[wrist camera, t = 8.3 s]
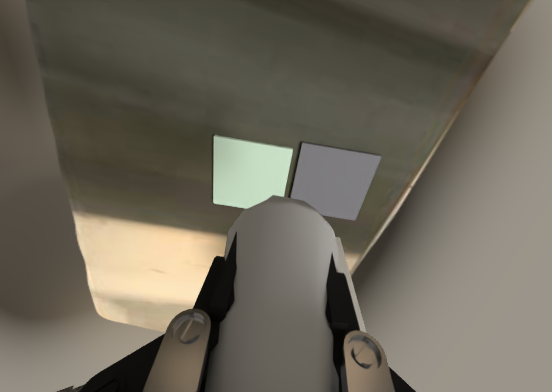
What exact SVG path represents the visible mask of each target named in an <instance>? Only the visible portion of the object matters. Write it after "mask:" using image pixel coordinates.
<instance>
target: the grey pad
mask: <svg viewBox="0 0 552 392" xmlns="http://www.w3.org/2000/svg"><path fill="white" fill-rule="evenodd" d="M381 157H382V156H381V155H378V154H372V153H366V152H360V151H355V150H349V149H343V148H337V147H331V146H325V145H319V144H313V143H307V142H302V145H301V150H300V154H299V159H298V164H297V168H296V173H295V178H294V182H293V187H292V192H291V196H290V198H292V199H298V200H303V201H305V202H306V203H308V204H309V205H311V206H312V207H313V208H315V209H316V210H317V211H318V212H319V213H320V214H321V215H324V216H330V217H336V218H343V219H349V220H356V217H357V215H358V213H359V210H360V208H361V205H362V203H363V200H364V198H365V196H366V193H367V191H368V188H369V186H370V184H371V181H372V179H373V176H374V174H375V171H376V169H377V167H378V164H379V162H380V159H381Z"/></svg>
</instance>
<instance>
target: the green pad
mask: <svg viewBox="0 0 552 392" xmlns="http://www.w3.org/2000/svg"><path fill="white" fill-rule="evenodd" d="M292 152H293V148H290V147H284V146H278V145H272V144H266V143H260V142H254V141H248V140H243V139H237V138H231V137H225V136H219V135H215V136H214V175H213V203H215V204H221V205H227V206H234V207H240V208H246V209H248V208H250V207H252V206H254V205H256V204H259V203H261V202H263V201H265V200H267V199H268V198H269V197H271V196H272V195H276V196H282V197H284V192H285V187H286V182H287V177H288V172H289V167H290V162H291V157H292Z"/></svg>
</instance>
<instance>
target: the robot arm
mask: <svg viewBox="0 0 552 392" xmlns="http://www.w3.org/2000/svg"><path fill="white" fill-rule="evenodd" d="M236 250H237V231H236V233H235V236H234V239H233V242H232V244H231V247H230V250H229V253H228V256H227V258H226V261H225V258H224V257H220V256H216V257H215V258H214V260H213V263H212V265H211V267H210V270H209V272H208V274H207V277H206V279H205V281H204V284H203V286H202V288H201V291H200V293H199V295H198V298H197V300H196V302H195V305H194V307H193V309H188V310H185V311H183V312H181V313H179V314H178V315H176V316H175V317H174V319H173V320H172V321H171V322H170V324H169V326H168V328H167V330H166V333H165V334H163V335H162V336H160V337H158V338H157V339H155V340H153V341H152V342H150V343H148V344H146V345H145V346H143V347H141V348H140V349H138V350H136V351H135V352H133V353H131V354H130V355H128V356H126V357H125V358H123V359H121V360H120V361H118V362H116V363H114V364H113V365H111V366H110V367H108V368H106V369H104V370H103V371H101V372H99V373H98V374H97V375H95V376H94V377H92V378H91V379H90V380H89V381H88V382H87V383H86V384H85V385H82V386H79V387H77V388H75V387H74V386H71V387H68V388H65V389H62V390H60V391H57V392H205V385H206V378H207V371H208V365H209V358H210V353H211V351H212V350H213V349H214V348H215V346H216V345H217V344H218V339H219V328H220V322H222V321H223V320H224V319H225V318H226V313H227V312H228V311H229V310H230V308H231V306H232V305H233V303H234V300H235V297H234V278H235V274H236V270H237V264H236ZM326 286H327V303H326V310H325V315H326V318H327V321H328V322H329V324H330V329H331V331H332V334H333V337H334V339H333V363H334V366H335V369H336V372H337V374H338V377H339V392H416V391H415V390H413V389H412V388H411V387H410V386H409V385H408V384H407V383H406V382H405V381H404V380H403V379H402V378H401V377H399V376H398V375H397V374H396V373H395V372H394V371H393V370H392V369H391V368H390V367H389V366H388V363H387V358H386V355H385V352H384V350H383V348H382V347H381V345H380V344H379V342H378V341H377V340H376V339H375V338H374V337H372V336H370V335H369V334H368V333H366V332H363V331H360V327H359V323H358V320H357V316H356V312H355V309H354V305H353V301H352V297H351V294H350V290H349V286H348V283H347V279H346V276H345V274H344V273H340V272H337V271H336V266H335V262H334V258H333V253H332V254H331V260H330V265H329V271H328V277H327V283H326Z"/></svg>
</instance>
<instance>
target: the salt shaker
mask: <svg viewBox="0 0 552 392" xmlns="http://www.w3.org/2000/svg"><path fill="white" fill-rule="evenodd" d="M236 231H237V250H236V264H237V270H236V274H235V278H234V297H235V300H234V303H233V305H232V306H231V308H230V310H229V311H228V312H227V313H226V318H225V319H224V320H223V321H222V322H220V328H219V339H218V344H217V345H216V346H215V348H214V349H213V350H212V351H211V353H210V358H209V365H208V371H207V378H206V385H205V392H339V377H338V374H337V372H336V369H335V366H334V363H333V339H334V337H333V334H332V331H331V329H330V324H329V322H328V321H327V318H326V315H325V310H326V303H327V286H326V283H327V277H328V271H329V265H330V260H331V254H332V253H333V258H334V262H335V266H336V271H337V272H338V248H337V243H336V239H335V234H334V231H333V229H332V228H331V226H330V225H329V224H328V222H327V221H326V220H325V219H324V218H323V217H322V216H321V214H320V213H319V212H318V211H317V210H316V209H315V208H313V207H312V206H311V205H309V204H308V203H306V202H305V201H303V200H298V199H292V198H287V197H282V196H276V195H272V196H271V197H269V198H268V199H267V200H265V201H263V202H261V203H259V204H256V205H254V206H252V207H250V208H248V209H245V210H244V211H243V212H242V214H241V215H240V216H239V217H238V219H237V220H236V221H235V223H234V224H233V225H232V227H231V228H230V230H229V231H228V235H227V242H226V248H225V255H224V258H225V261H226V258H227V256H228V253H229V250H230V247H231V244H232V242H233V239H234V236H235V233H236Z"/></svg>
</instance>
